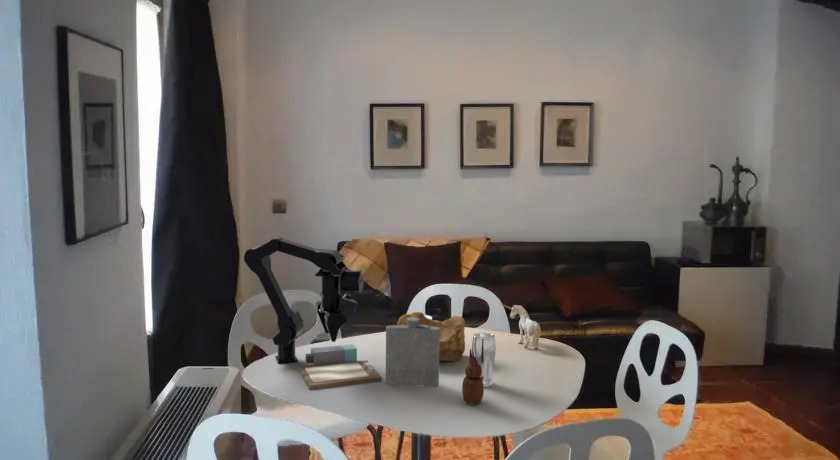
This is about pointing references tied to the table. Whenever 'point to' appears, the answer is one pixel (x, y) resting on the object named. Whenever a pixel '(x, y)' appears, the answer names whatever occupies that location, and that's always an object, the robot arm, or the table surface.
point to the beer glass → (484, 355)
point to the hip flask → (412, 354)
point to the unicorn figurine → (526, 326)
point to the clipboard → (339, 374)
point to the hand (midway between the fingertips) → (330, 337)
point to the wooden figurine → (473, 382)
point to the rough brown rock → (444, 334)
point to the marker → (332, 355)
